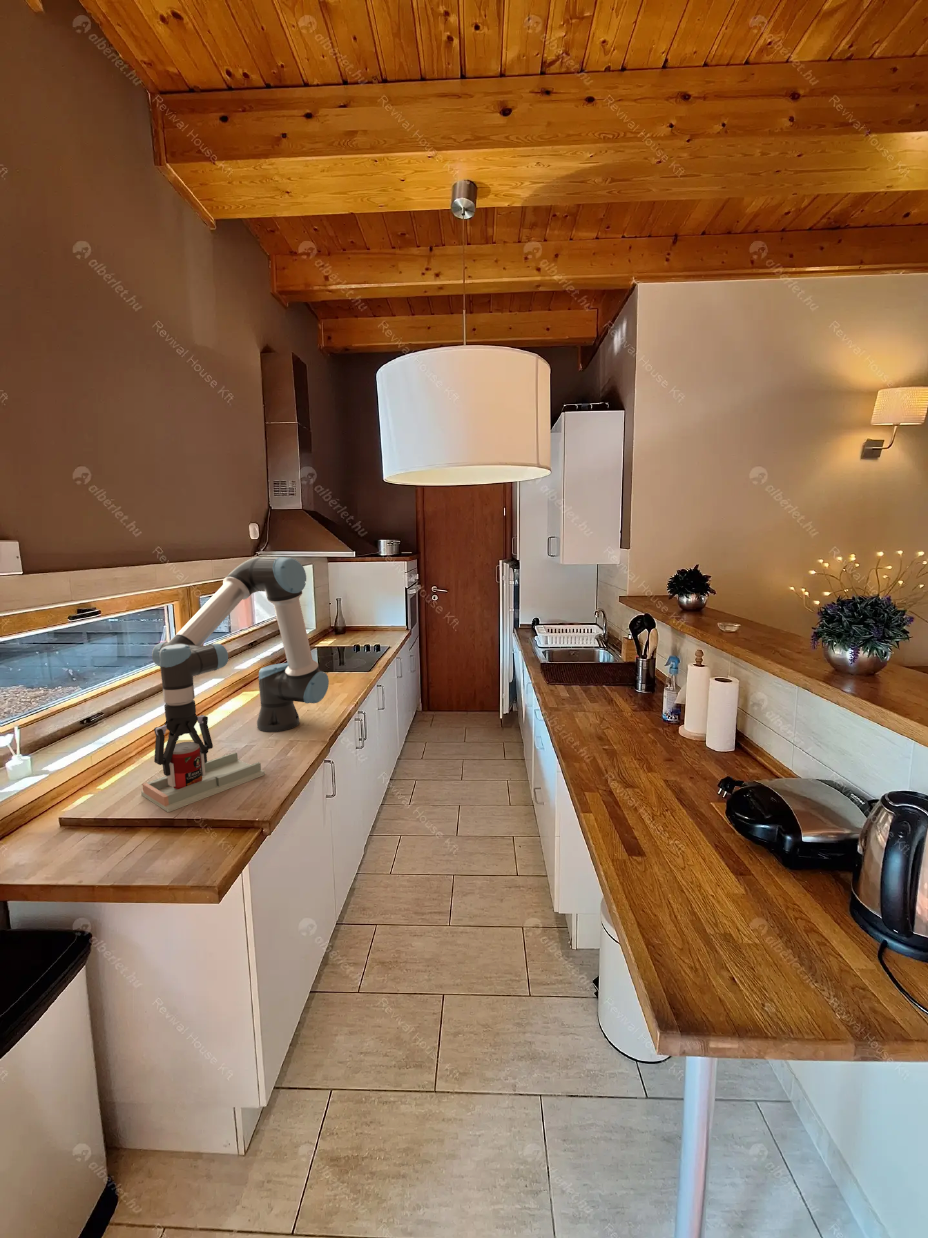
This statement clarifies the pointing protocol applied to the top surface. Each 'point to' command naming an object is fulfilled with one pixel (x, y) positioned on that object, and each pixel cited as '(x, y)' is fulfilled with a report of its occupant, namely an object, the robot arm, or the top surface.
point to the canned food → (186, 764)
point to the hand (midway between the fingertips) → (187, 779)
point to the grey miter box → (202, 783)
